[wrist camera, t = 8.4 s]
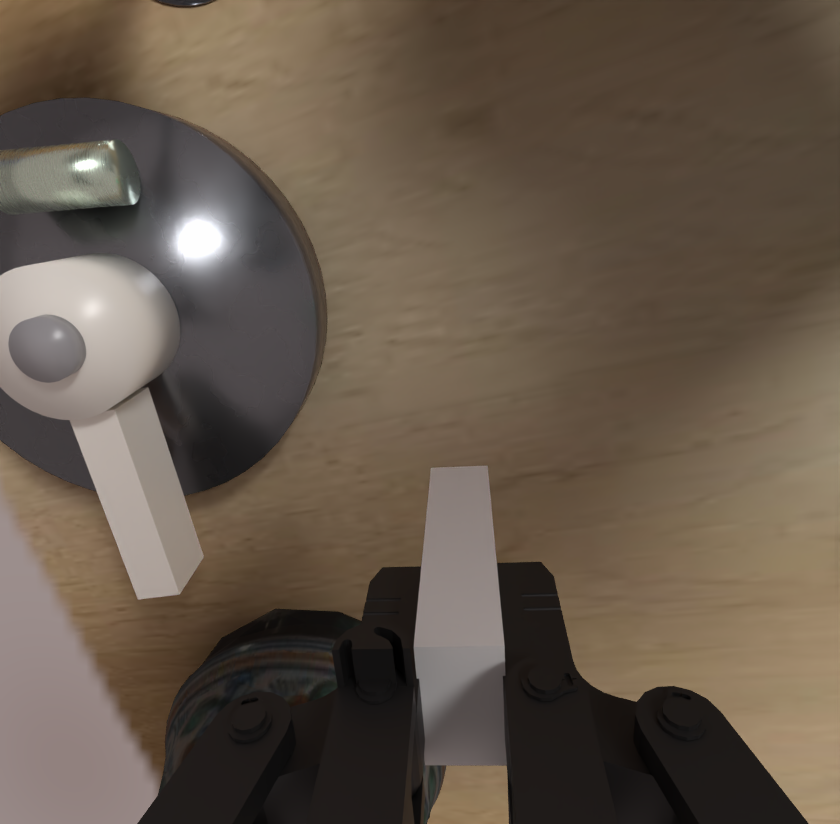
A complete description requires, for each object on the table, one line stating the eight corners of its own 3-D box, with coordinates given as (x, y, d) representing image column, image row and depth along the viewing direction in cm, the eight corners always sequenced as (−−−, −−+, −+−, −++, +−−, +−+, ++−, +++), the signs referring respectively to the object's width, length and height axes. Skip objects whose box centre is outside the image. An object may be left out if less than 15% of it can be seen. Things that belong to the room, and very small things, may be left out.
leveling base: (-92, 126, 28) (-211, 112, 23) (298, 88, 27) (265, 65, 22) (27, 481, 34) (-46, 533, 29) (348, 462, 33) (330, 512, 28)
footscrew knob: (25, 264, 26) (-70, 282, 22) (156, 242, 26) (90, 254, 21) (134, 558, 31) (78, 626, 27) (246, 544, 31) (210, 611, 26)
